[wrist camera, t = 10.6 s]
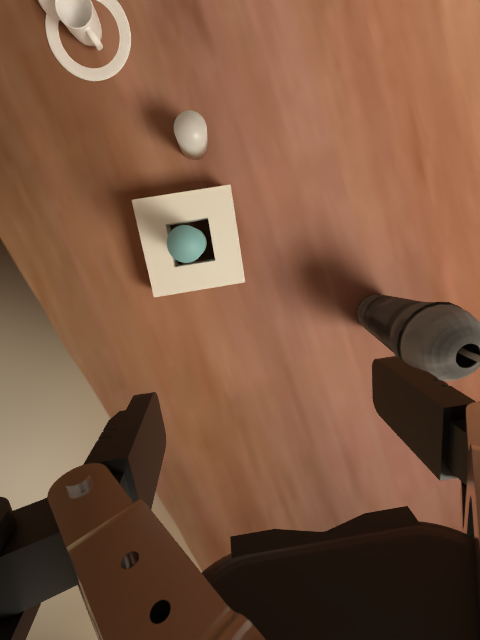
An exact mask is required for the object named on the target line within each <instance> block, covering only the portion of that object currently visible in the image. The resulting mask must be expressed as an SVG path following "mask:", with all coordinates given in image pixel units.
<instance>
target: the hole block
mask: <svg viewBox="0 0 480 640" xmlns="http://www.w3.org/2000/svg"><path fill="white" fill-rule="evenodd" d="M132 204H133V208H134V213H135V217H136V221H137V226H138V230H139V234H140V239H141V243H142V247H143V252H144V256H145V260H146V265H147V269H148V273H149V278H150V282H151V286H152V291H153V295H154V297H159V296H165V295H171V294H177V293H183V292H189V291H195V290H201V289H207V288H213V287H219V286H225V285H231V284H237V283H243V282H245V278H244V271H243V265H242V258H241V251H240V245H239V238H238V232H237V225H236V218H235V212H234V205H233V198H232V192H231V185H224V186H218V187H211V188H205V189H198V190H192V191H186V192H179V193H173V194H166V195H160V196H153V197H147V198H140V199H134V200H132ZM203 220H208V221H209V227H210V233H211V238H212V244H213V250H214V256H215V259H209V260H203V261H197V262H191V263H185V264H178V262H177V260H176V259H174V258H173V257H172V256H171V255H170V253H169V251H168V248H167V238H168V235H169V233H170V232H171V227H170V226H171V225H178V224H184V223H190V222H197V221H203Z"/></svg>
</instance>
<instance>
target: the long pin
mask: <svg viewBox="0 0 480 640" xmlns="http://www.w3.org/2000/svg"><path fill="white" fill-rule="evenodd" d="M206 247H207V238H206V236H205V234H204V233H203V232H202V231H200V230H198V229H196V228H194V227H192V226H189V225H180V226H177V227H175V228H174V229H173V230H172V231H171V232H170V233H169V235H168V238H167V248H168V251H169V253H170V255H171V256H172V257H173V258H174V259H176V260H177V261H179V262H183V263H189V262H193V261H195V260H196V259H198V258H199V257H200V256H201V254H202V253H203V252H204V251H205V249H206Z"/></svg>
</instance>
